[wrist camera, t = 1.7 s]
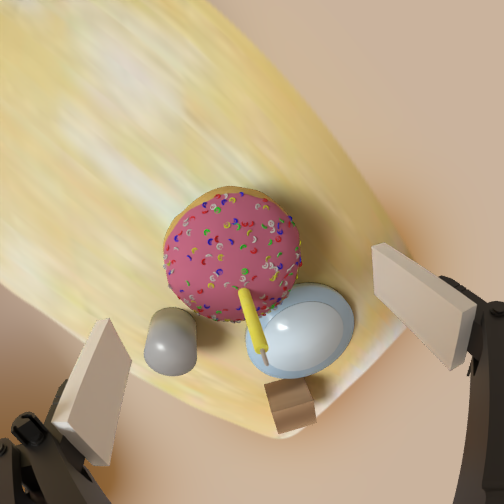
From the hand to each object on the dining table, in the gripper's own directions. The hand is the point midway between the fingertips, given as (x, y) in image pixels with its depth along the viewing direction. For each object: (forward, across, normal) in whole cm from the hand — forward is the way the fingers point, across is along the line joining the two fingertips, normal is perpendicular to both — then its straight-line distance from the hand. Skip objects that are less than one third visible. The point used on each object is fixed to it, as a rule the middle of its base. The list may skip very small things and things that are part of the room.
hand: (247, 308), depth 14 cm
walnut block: (+10, +2, -17) cm, 20 cm away
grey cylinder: (+10, -6, -6) cm, 13 cm away
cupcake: (+10, 0, +1) cm, 10 cm away
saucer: (+10, +4, -10) cm, 15 cm away
